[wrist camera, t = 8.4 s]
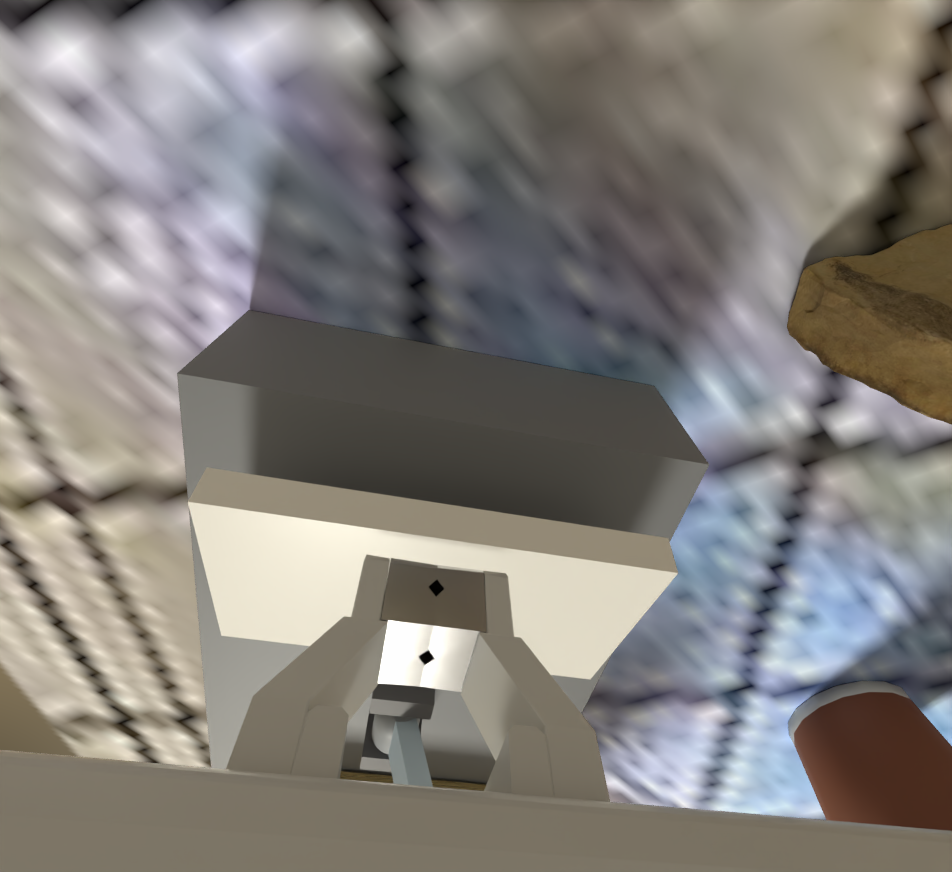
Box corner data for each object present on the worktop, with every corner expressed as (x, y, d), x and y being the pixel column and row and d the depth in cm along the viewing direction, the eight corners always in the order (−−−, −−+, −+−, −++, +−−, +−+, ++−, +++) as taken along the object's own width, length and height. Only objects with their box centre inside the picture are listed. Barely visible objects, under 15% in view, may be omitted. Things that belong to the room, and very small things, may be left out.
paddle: (418, 674, 19) (467, 861, 15) (410, 707, 20) (454, 892, 16) (374, 682, 19) (410, 880, 14) (368, 715, 20) (401, 910, 15)
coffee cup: (867, 770, 32) (1054, 1074, 22) (732, 750, 31) (864, 1064, 21) (975, 678, 28) (1271, 1006, 18) (823, 651, 27) (1046, 988, 16)
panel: (654, 386, 19) (737, 505, 13) (506, 745, 30) (515, 893, 25) (248, 309, 17) (137, 407, 12) (253, 719, 29) (199, 872, 23)
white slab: (667, 538, 13) (678, 573, 12) (586, 648, 17) (590, 679, 16) (206, 467, 12) (187, 501, 11) (233, 603, 16) (221, 635, 15)
